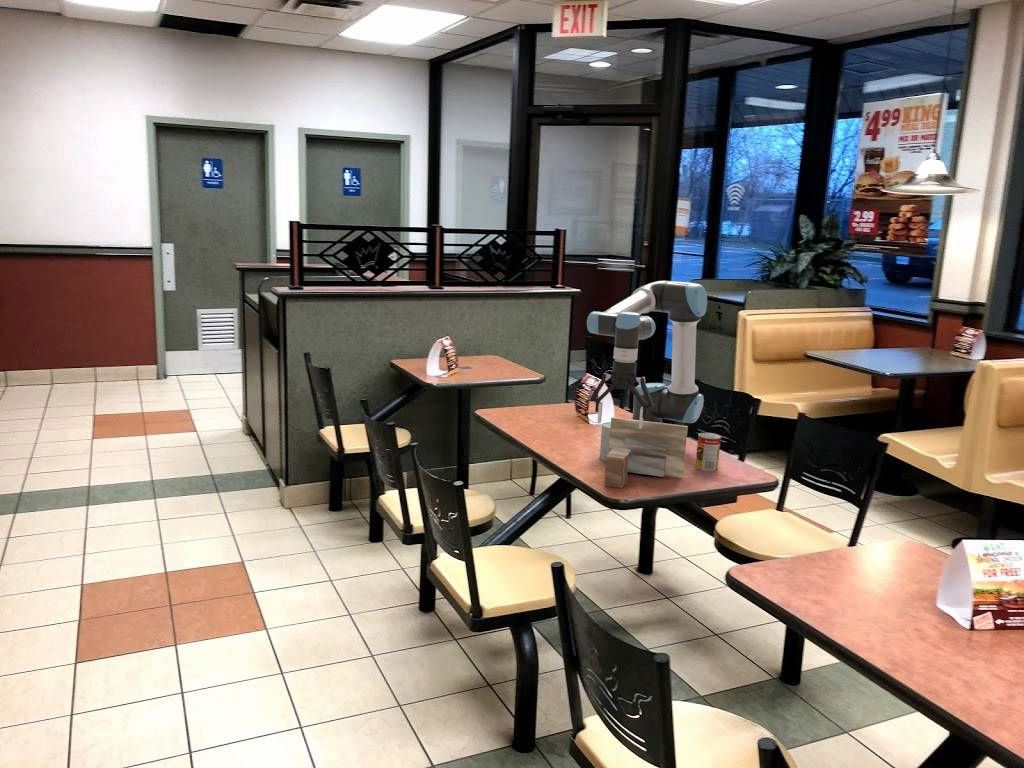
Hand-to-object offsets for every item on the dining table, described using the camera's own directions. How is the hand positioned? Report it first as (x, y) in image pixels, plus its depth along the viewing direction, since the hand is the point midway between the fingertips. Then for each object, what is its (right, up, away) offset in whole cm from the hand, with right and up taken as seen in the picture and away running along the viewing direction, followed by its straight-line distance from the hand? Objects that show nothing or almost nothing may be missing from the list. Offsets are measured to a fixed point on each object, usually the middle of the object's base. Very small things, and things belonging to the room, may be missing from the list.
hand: (619, 425), depth 270 cm
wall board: (+10, -18, +15) cm, 26 cm away
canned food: (+34, -17, +27) cm, 47 cm away
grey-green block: (+2, -14, +33) cm, 36 cm away
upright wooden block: (0, -19, +6) cm, 20 cm away
